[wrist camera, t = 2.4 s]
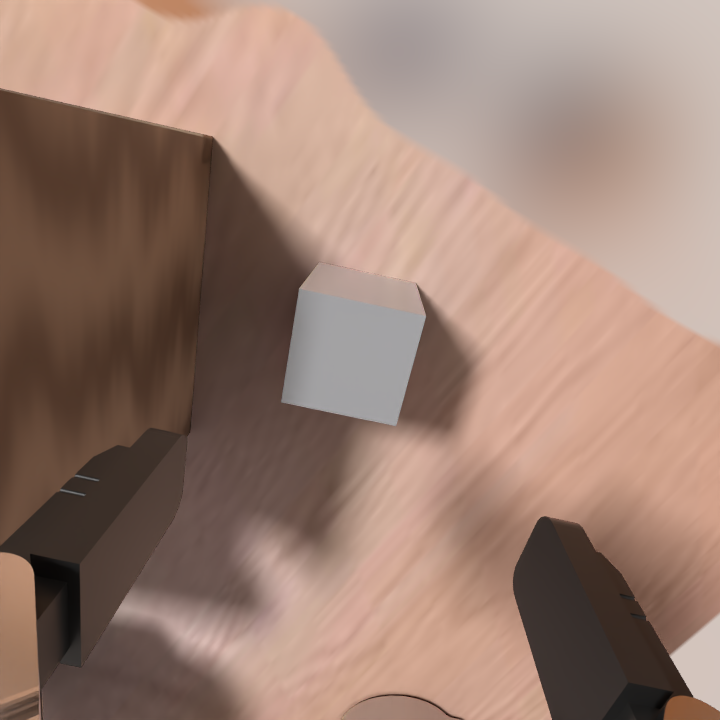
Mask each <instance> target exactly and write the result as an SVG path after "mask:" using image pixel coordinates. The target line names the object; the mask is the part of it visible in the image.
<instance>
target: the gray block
mask: <svg viewBox="0 0 720 720" xmlns="http://www.w3.org/2000/svg"><path fill="white" fill-rule="evenodd" d="M425 319H426V314H425V310H424V307H423V304H422V301H421V298H420V295H419V291H418V288H417V285H416V283H414V282H409V281H405V280H400V279H396V278H391V277H386V276H382V275H377V274H373V273H368V272H363V271H359V270H354V269H350V268H345V267H341V266H336V265H331V264H327V263H322V262H319V263H318V264H317V266H316V267H315V268H314V270H313V271H312V272H311V274H310V275H309V276H308V278H307V279H306V280H305V282H304V283H303V284H302V286H301V287H300V288H299V293H298V299H297V305H296V312H295V318H294V324H293V330H292V337H291V343H290V349H289V355H288V362H287V368H286V374H285V380H284V387H283V393H282V399H281V402H282V403H287V404H292V405H296V406H301V407H306V408H311V409H316V410H321V411H325V412H330V413H335V414H340V415H345V416H350V417H354V418H359V419H364V420H369V421H374V422H379V423H384V424H388V425H393V426H396V424H397V421H398V417H399V413H400V410H401V406H402V403H403V399H404V395H405V392H406V388H407V384H408V381H409V377H410V373H411V370H412V366H413V363H414V359H415V355H416V352H417V348H418V344H419V341H420V337H421V333H422V330H423V326H424V322H425Z"/></svg>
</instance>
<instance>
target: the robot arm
mask: <svg viewBox="0 0 720 720" xmlns="http://www.w3.org/2000/svg"><path fill="white" fill-rule="evenodd" d="M186 450H187V437H186V436H185V435H183V434H178V433H174V432H169V431H165V430H160V429H156V428H149V429H147V430H146V431H145V432H144V433H143V434H142V435H141V436H140V437H139V439H138V440H137V441H136V442H135V443H134V444H133V445H132V446H131V447H125V446H121V445H116V446H114V447H112V448H110V449H108V450H106V451H104V452H102V453H100V454H98V455H96V456H94V457H92V458H91V459H90V460H89V461H88V462H87V463H86V464H85V465H84V466H83V467H82V468H81V469H80V470H79V471H78V472H77V473H76V474H75V477H72V478H71V479H69V480H68V481H67V482H66V483H65V484H64V485H63V486H62V487H61V489H60V491H59V492H56V493H55V494H54V495H53V496H52V497H51V498H50V499H49V500H48V501H47V502H45V503H44V504H43V505H42V506H41V507H40V508H39V509H38V510H37V511H36V512H35V513H34V514H33V515H32V516H31V517H30V518H29V519H28V520H27V521H26V522H25V523H24V524H23V525H22V526H20V527H19V528H18V529H17V530H16V531H15V532H14V533H13V534H12V535H11V536H10V537H9V538H8V539H7V540H6V541H5V542H4V543H3V544H2V545H1V546H0V720H43V700H42V688H43V687H44V685H45V684H46V682H47V681H48V679H49V678H50V676H51V675H52V673H53V672H54V670H55V669H56V667H57V666H58V664H59V663H61V664H66V665H71V666H76V667H82V666H83V664H84V662H85V661H86V659H87V658H88V656H89V654H90V653H91V651H92V650H93V648H94V646H95V645H96V643H97V641H98V640H99V638H100V637H101V635H102V633H103V632H104V630H105V629H106V627H107V625H108V624H109V622H110V621H111V619H112V617H113V616H114V614H115V612H116V611H117V609H118V608H119V606H120V604H121V603H122V601H123V600H124V598H125V596H126V595H127V593H128V592H129V590H130V588H131V587H132V585H133V583H134V582H135V580H136V579H137V577H138V575H139V574H140V572H141V571H142V569H143V567H144V566H145V564H146V562H147V561H148V559H149V558H150V556H151V554H152V553H153V551H154V550H155V548H156V546H157V545H158V543H159V542H160V540H161V538H162V537H163V535H164V533H165V532H166V530H167V529H168V527H169V525H170V524H171V522H172V520H173V519H174V517H175V515H176V512H177V510H178V507H179V504H180V501H181V497H182V492H183V482H184V472H185V461H186ZM513 590H514V595H515V599H516V602H517V605H518V609H519V612H520V615H521V619H522V622H523V625H524V628H525V632H526V635H527V638H528V642H529V645H530V648H531V651H532V655H533V658H534V661H535V664H536V668H537V671H538V674H539V678H540V681H541V684H542V687H543V691H544V694H545V697H546V701H547V704H548V707H549V710H550V714H551V717H552V720H720V712H719V711H718V710H716V709H715V708H713V707H711V706H710V705H708V704H707V703H704V702H703V701H701V700H698V699H695V698H693V695H692V694H691V692H690V690H689V688H688V687H687V685H686V683H685V682H684V680H683V678H682V677H681V675H680V673H679V672H678V670H677V668H676V666H675V665H674V663H673V661H672V660H671V658H670V656H669V654H668V653H667V651H666V649H665V648H664V646H663V644H662V643H661V641H660V639H659V638H658V636H657V634H656V632H655V631H654V629H653V627H652V626H651V624H650V622H649V621H646V615H645V614H644V612H643V610H642V609H641V607H640V605H639V604H638V602H636V601H635V600H634V598H635V597H634V595H633V593H632V592H631V590H630V588H629V587H628V585H627V583H626V581H625V580H624V578H623V576H622V575H621V573H620V572H619V571H618V570H617V569H616V568H615V567H614V566H613V565H612V564H611V563H610V562H609V561H608V560H607V559H606V558H605V557H604V556H603V555H602V554H601V553H599V552H596V551H595V549H594V547H593V546H592V544H591V542H590V540H589V538H588V537H587V535H586V533H585V531H584V529H583V528H582V527H581V526H580V525H579V524H577V523H573V522H568V521H564V520H559V519H555V518H550V517H546V516H544V517H541V518H540V519H539V520H538V521H537V523H536V525H535V527H534V529H533V531H532V533H531V536H530V538H529V540H528V542H527V544H526V546H525V548H524V550H523V552H522V554H521V556H520V558H519V560H518V562H517V565H516V567H515V571H514V577H513ZM342 720H460V719H456V718H452V717H449V716H447V715H446V714H445V713H444V712H442V711H441V710H440V709H439V708H437V707H435V706H434V705H432V704H430V703H428V702H425V701H422V700H420V699H416V698H411V697H406V696H382V697H376V698H372V699H368V700H365V701H363V702H361V703H358V704H357V705H355V706H354V707H352V708H351V709H349V710H348V711H347V712H346V714H345V715H344V716H343V718H342Z"/></svg>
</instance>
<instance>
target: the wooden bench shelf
mask: <svg viewBox="0 0 720 720" xmlns="http://www.w3.org/2000/svg"><path fill="white" fill-rule="evenodd" d="M212 142H213V137H212V136H208V135H204V134H199V133H195V132H191V131H186V130H182V129H177V128H173V127H169V126H164V125H160V124H155V123H151V122H146V121H142V120H138V119H133V118H129V117H124V116H120V115H116V114H111V113H107V112H102V111H98V110H93V109H89V108H85V107H80V106H76V105H71V104H67V103H63V102H58V101H54V100H49V99H45V98H40V97H36V96H32V95H27V94H23V93H18V92H14V91H10V90H5V89H1V88H0V546H1V545H2V544H3V543H4V542H5V541H6V540H7V539H8V538H9V537H10V536H11V535H12V534H13V533H14V532H15V531H16V530H17V529H18V528H19V527H20V526H22V525H23V524H24V523H25V522H26V521H27V520H28V519H29V518H30V517H31V516H32V515H33V514H34V513H35V512H36V511H37V510H38V509H39V508H40V507H41V506H42V505H43V504H44V503H45V502H47V501H48V500H49V499H50V498H51V497H52V496H53V495H54V494H55V493H56V492H59V491H60V489H61V487H62V486H63V485H64V484H65V483H66V482H67V481H68V480H69V479H71V478H72V477H75V474H76V473H77V472H78V471H79V470H80V469H81V468H82V467H83V466H84V465H85V464H86V463H87V462H88V461H89V460H90V459H91V458H92V457H94V456H96V455H98V454H100V453H102V452H104V451H106V450H108V449H110V448H112V447H114V446H116V445H121V446H125V447H131V446H132V445H133V444H134V443H135V442H136V441H137V440H138V439H139V437H140V436H141V435H142V434H143V433H144V432H145V431H146V430H147V429H149V428H156V429H160V430H165V431H169V432H174V433H178V434H183V435H185V436H186V437H187V436H188V434H189V433H190V426H191V413H192V401H193V388H194V375H195V362H196V349H197V336H198V323H199V310H200V297H201V284H202V271H203V258H204V245H205V232H206V219H207V206H208V193H209V181H210V168H211V155H212Z"/></svg>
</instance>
